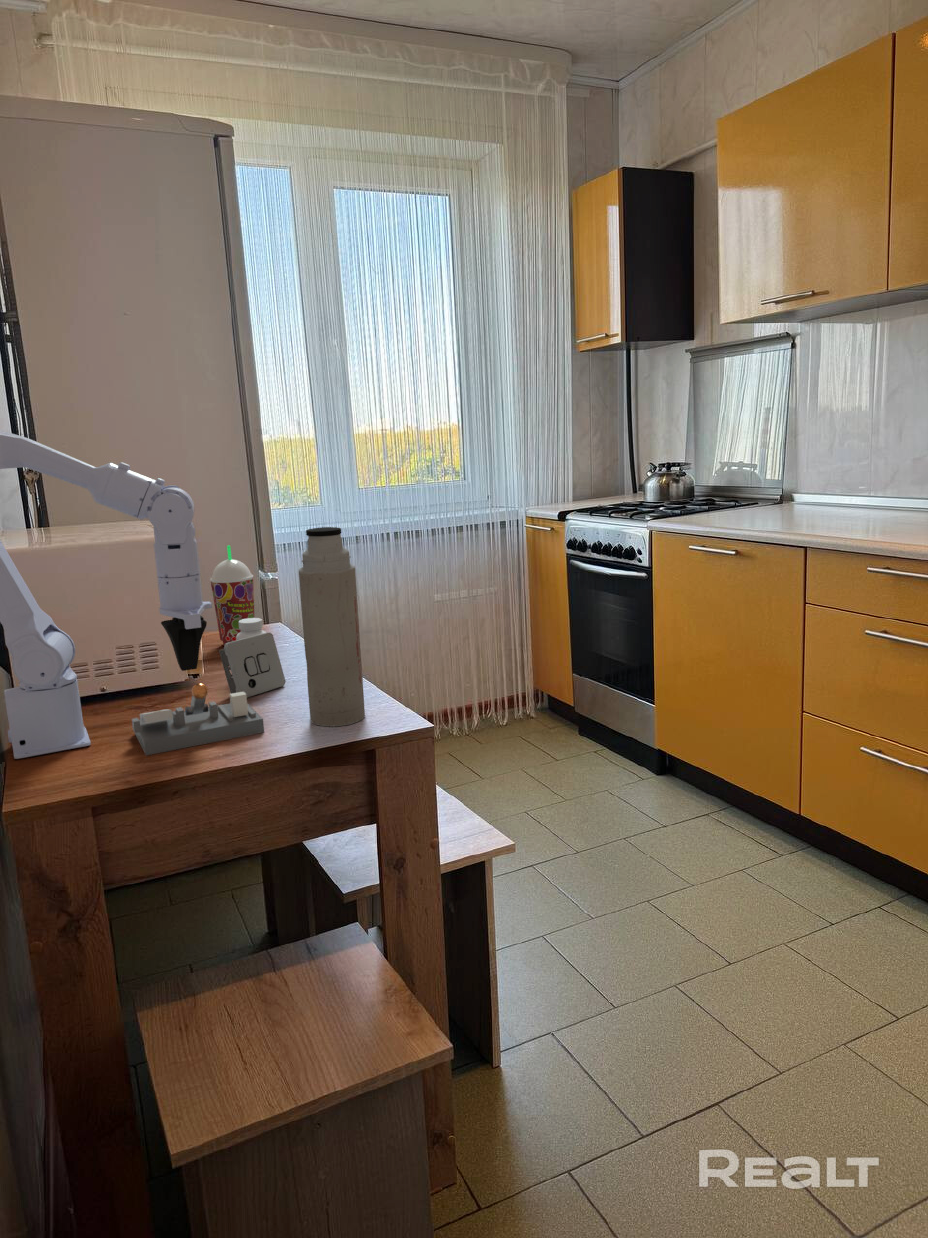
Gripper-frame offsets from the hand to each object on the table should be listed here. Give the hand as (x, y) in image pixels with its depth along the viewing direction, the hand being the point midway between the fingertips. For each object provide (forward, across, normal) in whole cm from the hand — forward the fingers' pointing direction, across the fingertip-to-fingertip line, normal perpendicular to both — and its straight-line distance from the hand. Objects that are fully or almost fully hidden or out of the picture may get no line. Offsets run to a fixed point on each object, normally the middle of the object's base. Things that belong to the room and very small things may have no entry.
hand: (188, 668), depth 124 cm
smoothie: (+9, +48, -18) cm, 52 cm away
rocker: (+5, -2, +5) cm, 8 cm away
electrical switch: (+9, +14, -12) cm, 20 cm away
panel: (+9, -2, 0) cm, 9 cm away
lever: (+5, -2, 0) cm, 6 cm away
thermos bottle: (+9, -8, -19) cm, 22 cm away
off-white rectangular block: (+7, -4, -6) cm, 10 cm away
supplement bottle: (+9, +24, -15) cm, 29 cm away
